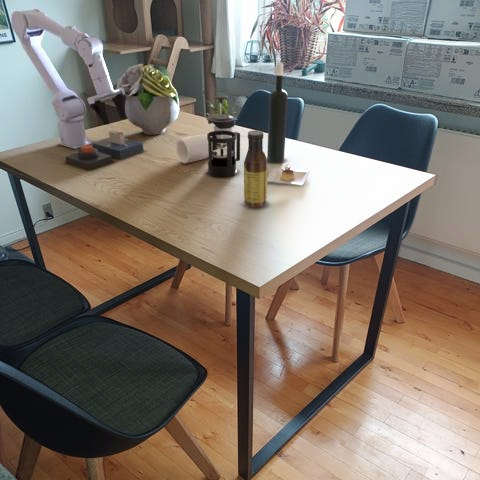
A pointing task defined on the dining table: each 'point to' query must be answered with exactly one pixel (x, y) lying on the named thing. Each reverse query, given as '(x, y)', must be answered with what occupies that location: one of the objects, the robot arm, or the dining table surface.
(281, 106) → the wine bottle
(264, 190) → the sauce bottle
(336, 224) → the dining table surface
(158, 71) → the flower arrangement
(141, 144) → the dial panel
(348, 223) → the dining table surface
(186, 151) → the mug
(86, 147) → the button
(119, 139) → the grey rectangular block
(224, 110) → the house plant
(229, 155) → the french press
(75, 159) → the button base
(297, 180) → the dessert
